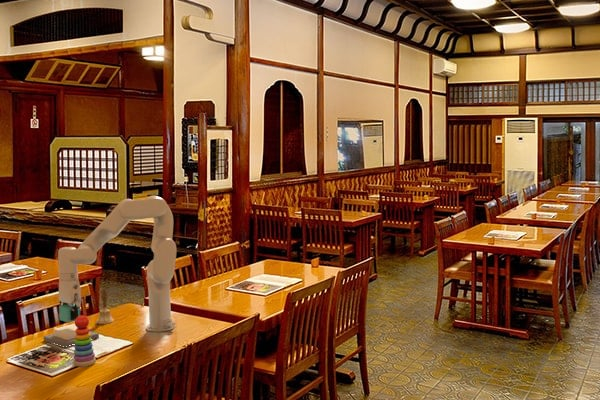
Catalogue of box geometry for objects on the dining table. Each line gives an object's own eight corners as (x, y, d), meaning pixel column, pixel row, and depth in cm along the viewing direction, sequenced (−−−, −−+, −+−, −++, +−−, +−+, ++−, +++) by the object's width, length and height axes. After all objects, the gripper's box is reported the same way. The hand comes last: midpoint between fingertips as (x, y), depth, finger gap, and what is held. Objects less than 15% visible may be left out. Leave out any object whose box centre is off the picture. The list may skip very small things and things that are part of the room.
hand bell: (117, 319, 292) (115, 286, 291) (109, 324, 284) (108, 290, 283) (100, 318, 293) (99, 286, 292) (92, 323, 285) (91, 290, 284)
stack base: (98, 338, 263) (98, 326, 263) (65, 348, 251) (64, 336, 250) (77, 331, 273) (76, 320, 273) (43, 340, 260) (43, 329, 260)
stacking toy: (76, 360, 236) (74, 312, 234) (97, 359, 237) (95, 312, 235) (70, 367, 228) (68, 318, 226) (92, 366, 229) (90, 317, 227)
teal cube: (80, 319, 262) (79, 305, 261) (67, 322, 257) (67, 308, 256) (72, 316, 265) (71, 303, 265) (59, 320, 260) (59, 306, 260)
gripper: (88, 277, 257) (89, 319, 259) (65, 272, 268) (66, 313, 269) (72, 280, 251) (73, 323, 253) (49, 275, 262) (50, 316, 263)
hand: (69, 317), depth 261 cm, fingers closed on teal cube, 6 cm apart
